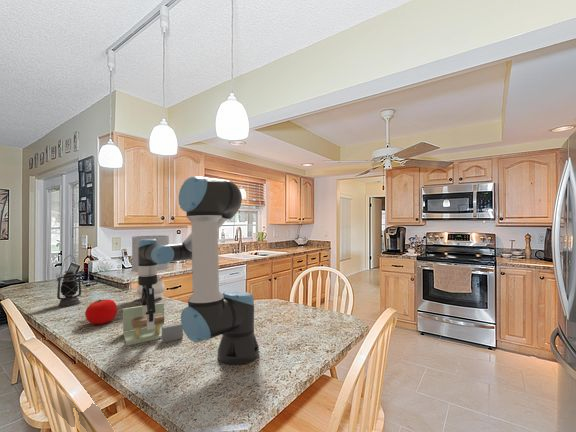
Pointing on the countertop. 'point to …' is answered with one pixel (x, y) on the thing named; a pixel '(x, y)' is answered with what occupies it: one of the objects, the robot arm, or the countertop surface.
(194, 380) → the countertop surface
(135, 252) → the lamp
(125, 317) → the cabinet
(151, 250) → the robot arm
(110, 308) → the tomato
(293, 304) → the countertop surface
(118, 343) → the countertop surface
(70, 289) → the lantern
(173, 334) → the block
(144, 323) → the shelf board
